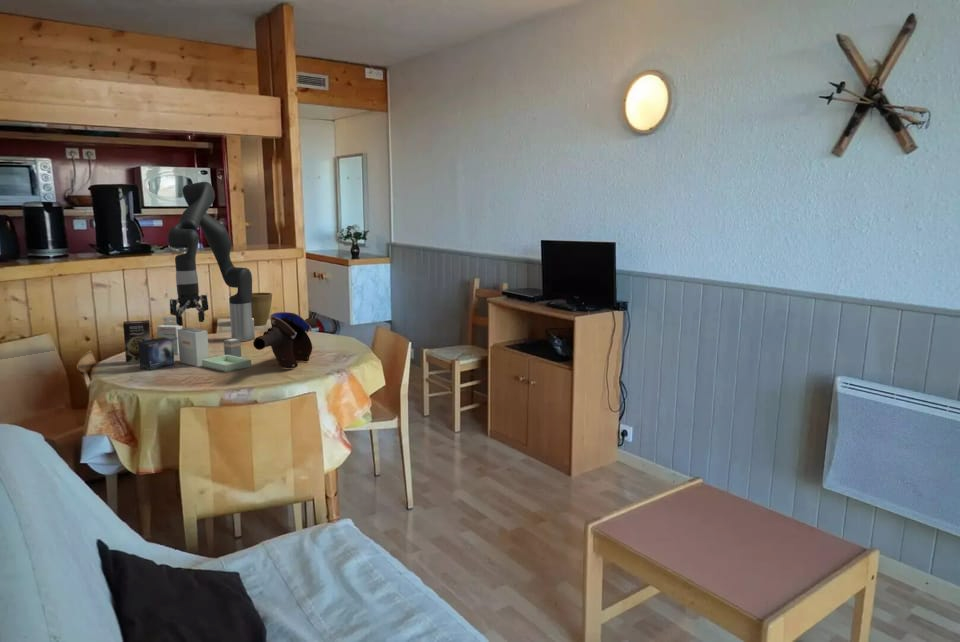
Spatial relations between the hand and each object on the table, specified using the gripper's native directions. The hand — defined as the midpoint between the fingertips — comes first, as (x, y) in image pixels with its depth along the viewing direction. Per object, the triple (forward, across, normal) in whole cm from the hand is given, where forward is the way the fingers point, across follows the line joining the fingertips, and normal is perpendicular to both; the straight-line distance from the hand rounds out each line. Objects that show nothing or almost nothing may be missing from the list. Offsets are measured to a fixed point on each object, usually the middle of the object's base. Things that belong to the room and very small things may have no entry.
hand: (190, 323), depth 245 cm
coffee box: (+16, +12, -18) cm, 27 cm away
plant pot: (+18, -67, -51) cm, 86 cm away
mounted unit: (+16, 0, 0) cm, 16 cm away
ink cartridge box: (+16, -4, -23) cm, 29 cm away
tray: (+16, -4, +15) cm, 22 cm away
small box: (+16, +12, -5) cm, 20 cm away
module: (+16, -15, +2) cm, 22 cm away
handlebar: (+16, -21, +32) cm, 41 cm away
